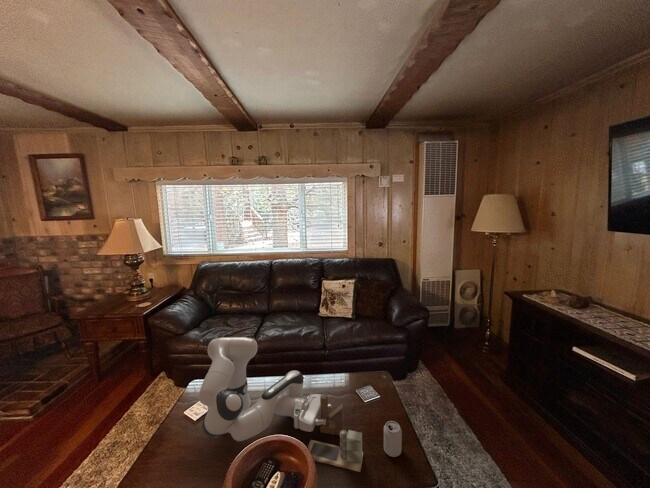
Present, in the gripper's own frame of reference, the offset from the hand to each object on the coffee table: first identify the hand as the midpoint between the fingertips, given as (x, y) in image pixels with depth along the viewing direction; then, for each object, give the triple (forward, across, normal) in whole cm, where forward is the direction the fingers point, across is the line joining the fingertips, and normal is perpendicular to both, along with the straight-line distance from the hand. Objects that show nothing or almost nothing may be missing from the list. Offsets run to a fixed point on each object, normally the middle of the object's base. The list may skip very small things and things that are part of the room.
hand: (328, 414), depth 126 cm
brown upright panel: (+1, 0, -9) cm, 9 cm away
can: (+29, +3, -9) cm, 31 cm away
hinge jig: (+5, +12, -9) cm, 16 cm away
